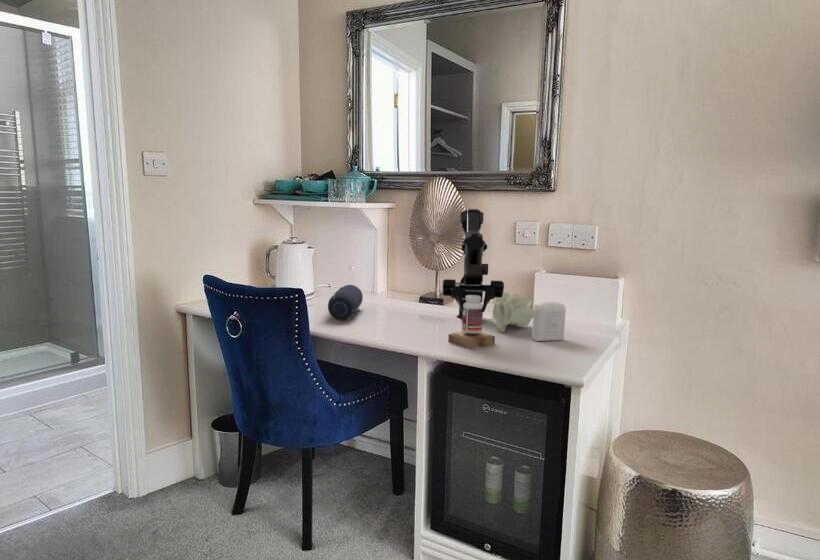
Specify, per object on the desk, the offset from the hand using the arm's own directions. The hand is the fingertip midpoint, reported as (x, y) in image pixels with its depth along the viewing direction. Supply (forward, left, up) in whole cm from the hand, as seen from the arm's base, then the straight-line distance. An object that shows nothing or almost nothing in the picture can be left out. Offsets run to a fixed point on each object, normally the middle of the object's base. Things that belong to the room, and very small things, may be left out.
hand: (472, 311), depth 170 cm
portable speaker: (+10, -56, -11) cm, 58 cm away
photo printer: (-24, +10, -10) cm, 28 cm away
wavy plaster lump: (-26, -8, -11) cm, 29 cm away
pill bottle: (-1, -1, -7) cm, 7 cm away
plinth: (-1, -1, -10) cm, 10 cm away
